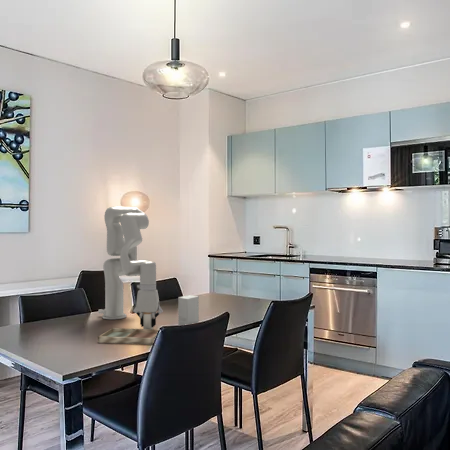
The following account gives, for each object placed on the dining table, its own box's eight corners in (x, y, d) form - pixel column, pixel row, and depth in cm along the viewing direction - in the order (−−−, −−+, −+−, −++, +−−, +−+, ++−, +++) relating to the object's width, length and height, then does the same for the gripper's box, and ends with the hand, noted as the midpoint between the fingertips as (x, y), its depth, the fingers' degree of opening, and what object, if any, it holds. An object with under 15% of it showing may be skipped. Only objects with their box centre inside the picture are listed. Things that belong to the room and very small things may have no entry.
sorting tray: (97, 342, 196) (97, 336, 196) (111, 333, 212) (111, 328, 212) (152, 344, 193) (152, 338, 193) (162, 335, 209) (162, 329, 209)
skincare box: (189, 326, 227) (189, 294, 226) (199, 328, 222) (199, 296, 222) (177, 329, 220) (177, 296, 220) (187, 331, 216) (187, 298, 216)
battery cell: (141, 332, 215) (141, 308, 215) (144, 329, 219) (144, 307, 219) (151, 332, 214) (151, 309, 214) (154, 330, 219) (154, 307, 218)
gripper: (128, 288, 214) (128, 327, 214) (163, 289, 212) (163, 328, 212) (133, 286, 221) (133, 324, 222) (167, 286, 219) (167, 325, 219)
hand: (148, 326), depth 217 cm, fingers closed on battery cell, 4 cm apart
